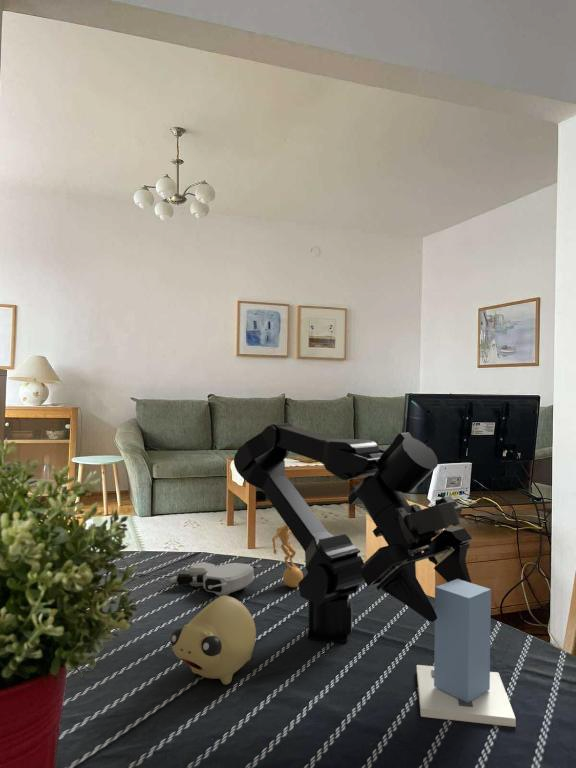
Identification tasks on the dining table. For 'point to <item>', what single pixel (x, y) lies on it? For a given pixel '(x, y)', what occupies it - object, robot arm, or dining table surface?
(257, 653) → the dining table surface
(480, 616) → the slate post
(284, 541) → the figurine
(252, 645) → the beige rounded figure
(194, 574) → the robot toy
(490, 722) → the letter card
